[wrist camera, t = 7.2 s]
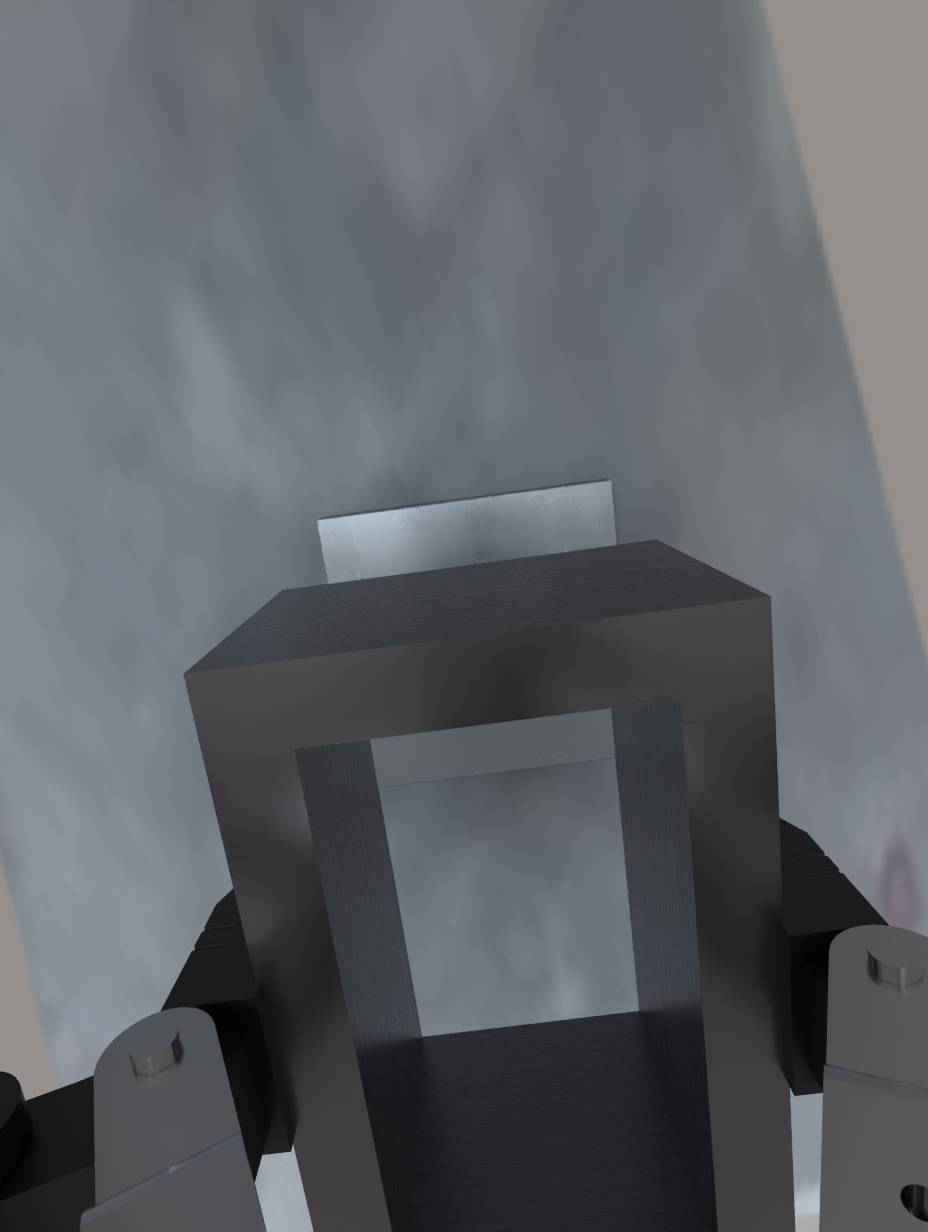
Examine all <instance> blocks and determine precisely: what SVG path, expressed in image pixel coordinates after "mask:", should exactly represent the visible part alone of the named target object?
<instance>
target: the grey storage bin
mask: <svg viewBox="0 0 928 1232" xmlns="http://www.w3.org/2000/svg"><path fill="white" fill-rule="evenodd" d="M184 678H185V682H186V687H187V691H188V695H189V700H190V704H191V708H192V712H193V717H194V721H195V725H196V730H197V734H198V738H199V742H200V747H201V751H202V755H203V760H204V764H205V768H206V772H207V777H208V781H209V785H210V790H211V794H212V798H213V802H214V807H215V811H216V815H217V819H218V824H219V828H220V832H221V837H222V841H223V845H224V849H225V854H226V858H227V862H228V867H229V871H230V875H231V879H232V884H233V888H234V892H235V897H236V901H237V905H238V909H239V914H240V918H241V922H242V927H243V931H244V935H245V939H246V944H247V948H248V952H249V957H250V961H251V965H252V969H253V974H254V978H255V982H256V983H259V982H261V985H262V989H263V994H264V998H265V1002H266V1007H267V1011H268V1015H269V1020H270V1024H271V1028H272V1033H273V1037H274V1041H275V1046H276V1050H277V1054H278V1059H279V1063H280V1067H281V1072H282V1076H283V1080H284V1085H285V1089H286V1093H287V1098H288V1102H289V1106H290V1111H291V1115H292V1119H293V1124H294V1128H295V1132H296V1133H295V1137H294V1141H293V1145H294V1149H295V1153H296V1158H297V1162H298V1166H299V1171H300V1175H301V1179H302V1183H303V1188H304V1192H305V1196H306V1201H307V1205H308V1209H309V1213H310V1218H311V1222H312V1226H313V1231H314V1232H795V1209H794V1184H793V1158H792V1132H791V1107H790V1086H789V1084H788V1082H787V1080H786V1078H785V1076H784V1060H783V1035H782V1010H781V985H780V960H779V935H778V920H779V919H783V901H782V875H781V850H780V824H779V798H778V773H777V747H776V721H775V696H774V670H773V644H772V619H771V596H769V595H767V594H765V593H763V592H761V591H759V590H757V589H755V588H753V587H751V586H749V585H747V584H745V583H743V582H741V581H739V580H737V579H735V578H733V577H731V576H729V575H727V574H725V573H723V572H721V571H719V570H717V569H715V568H713V567H711V566H709V565H707V564H705V563H703V562H701V561H699V560H697V559H695V558H692V557H690V556H688V555H686V554H684V553H682V552H680V551H678V550H676V549H674V548H672V547H670V546H668V545H666V544H664V543H662V542H660V541H658V540H651V541H644V542H636V543H629V544H622V545H614V546H607V547H599V548H592V549H584V550H577V551H570V552H562V553H555V554H547V555H540V556H532V557H525V558H517V559H510V560H503V561H495V562H488V563H480V564H473V565H465V566H458V567H450V568H443V569H436V570H428V571H421V572H413V573H406V574H398V575H391V576H383V577H376V578H369V579H361V580H354V581H346V582H339V583H331V584H324V585H317V586H309V587H302V588H294V589H287V590H282V591H281V592H279V593H278V594H277V595H276V596H275V597H274V598H272V599H271V600H270V601H269V602H268V603H266V604H265V605H264V606H263V607H262V608H261V609H259V610H258V611H257V612H256V613H255V614H254V615H252V616H251V617H250V618H249V619H248V620H246V621H245V622H244V623H243V624H242V625H241V626H239V627H238V628H237V629H236V630H235V631H234V632H232V633H231V634H230V635H229V636H228V637H226V638H225V639H224V640H223V641H222V642H221V643H219V644H218V645H217V646H216V647H215V648H214V649H212V650H211V651H210V652H209V653H208V654H206V655H205V656H204V657H203V658H202V659H201V660H199V661H198V662H197V663H196V664H195V665H193V666H192V667H191V668H190V669H189V670H188V671H186V672H185V673H184ZM609 708H611V715H612V726H613V737H614V747H615V758H616V769H617V779H618V790H619V801H620V811H621V822H622V833H623V843H624V854H625V865H626V875H627V886H628V897H629V907H630V918H631V929H632V939H633V950H634V961H635V971H636V982H637V993H638V1004H639V1011H636V1012H627V1013H619V1014H610V1015H602V1016H594V1017H585V1018H577V1019H569V1020H560V1021H552V1022H544V1023H535V1024H527V1025H518V1026H510V1027H502V1028H493V1029H485V1030H477V1031H468V1032H460V1033H452V1034H443V1035H435V1036H427V1037H422V1034H421V1028H420V1022H419V1017H418V1011H417V1005H416V999H415V994H414V988H413V982H412V977H411V971H410V965H409V960H408V954H407V948H406V943H405V937H404V931H403V926H402V920H401V914H400V909H399V903H398V897H397V891H396V886H395V880H394V874H393V869H392V863H391V857H390V852H389V846H388V840H387V835H386V829H385V823H384V818H383V812H382V806H381V801H380V795H379V789H378V783H377V778H376V772H375V766H374V761H373V755H372V749H371V744H370V739H377V738H385V737H393V736H400V735H408V734H416V733H424V732H431V731H439V730H447V729H455V728H462V727H470V726H478V725H486V724H493V723H501V722H509V721H516V720H524V719H532V718H540V717H547V716H555V715H563V714H571V713H578V712H586V711H594V710H602V709H609Z"/></svg>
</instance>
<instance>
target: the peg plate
mask: <svg viewBox="0 0 928 1232" xmlns="http://www.w3.org/2000/svg"><path fill="white" fill-rule="evenodd" d="M317 523H318V529H319V535H320V540H321V546H322V551H323V557H324V562H325V568H326V573H327V579H328V584H331V583H339V582H346V581H354V580H361V579H369V578H376V577H383V576H391V575H398V574H406V573H413V572H421V571H428V570H436V569H443V568H450V567H458V566H465V565H473V564H480V563H488V562H495V561H503V560H510V559H517V558H525V557H532V556H540V555H547V554H555V553H562V552H570V551H577V550H584V549H592V548H599V547H607V546H614V545H617V542H616V531H615V519H614V508H613V496H612V485H611V480H607V479H602V480H594V481H587V482H580V483H572V484H565V485H558V486H550V487H543V488H535V489H528V490H521V491H513V492H506V493H499V494H491V495H484V496H477V497H469V498H462V499H455V500H447V501H440V502H433V503H425V504H418V505H411V506H403V507H396V508H389V509H381V510H374V511H366V512H359V513H352V514H344V515H337V516H330V517H322V518H321V519H319V520H317ZM370 744H371V749H372V755H373V761H374V766H375V772H376V778H377V783H378V788H379V787H387V786H395V785H403V784H411V783H419V782H427V781H435V780H443V779H450V778H458V777H466V776H474V775H482V774H490V773H498V772H506V771H513V770H521V769H529V768H537V767H545V766H553V765H561V764H569V763H577V762H584V761H592V760H600V759H608V758H615V747H614V737H613V726H612V715H611V708H609V709H602V710H594V711H586V712H578V713H571V714H563V715H555V716H547V717H540V718H532V719H524V720H516V721H509V722H501V723H493V724H486V725H478V726H470V727H462V728H455V729H447V730H439V731H431V732H424V733H416V734H408V735H400V736H393V737H385V738H377V739H370Z"/></svg>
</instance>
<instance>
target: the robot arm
mask: <svg viewBox="0 0 928 1232" xmlns="http://www.w3.org/2000/svg"><path fill="white" fill-rule="evenodd" d="M779 824H780V850H781V875H782V901H783V919H779V920H778V935H779V960H780V985H781V1010H782V1035H783V1060H784V1076H785V1078H786V1080H787V1082H788V1084H789V1086H790V1088H791V1090H792V1092H793V1094H794V1096H798V1095H807V1094H816V1093H823V1115H822V1151H821V1186H820V1222H819V1223H820V1224H819V1232H928V938H927V937H925V936H923V935H921V934H918V933H916V932H913V931H910V930H906V929H903V928H898V927H893V926H889V925H888V924H887V923H886V921H885V920H884V919H883V918H882V917H881V916H880V915H879V914H878V912H877V911H876V910H875V909H874V908H873V907H872V906H871V905H870V903H869V902H868V901H867V900H866V899H865V898H864V897H863V895H862V894H861V893H860V892H859V891H858V890H857V889H856V888H855V886H854V885H853V884H852V883H851V882H850V881H849V880H848V879H847V877H846V876H845V875H844V874H843V873H840V872H839V868H838V867H837V866H836V865H835V864H834V863H833V862H832V861H831V859H830V858H829V857H828V856H825V854H824V852H823V850H822V849H821V848H820V847H819V846H818V845H817V844H816V843H815V841H814V840H813V839H812V838H811V837H810V836H809V835H808V833H806V832H805V831H803V830H801V829H799V828H797V827H795V826H794V825H792V824H790V823H788V822H786V821H784V820H783V819H781V818H779ZM295 1133H296V1132H295V1128H294V1124H293V1119H292V1115H291V1111H290V1106H289V1102H288V1098H287V1093H286V1089H285V1085H284V1080H283V1076H282V1072H281V1067H280V1063H279V1059H278V1054H277V1050H276V1046H275V1041H274V1037H273V1033H272V1028H271V1024H270V1020H269V1015H268V1011H267V1007H266V1002H265V998H264V994H263V989H262V985H261V982H259V983H256V982H255V978H254V974H253V969H252V965H251V961H250V957H249V952H248V948H247V944H246V939H245V935H244V931H243V927H242V922H241V918H240V914H239V909H238V905H237V901H236V897H235V892H234V889H232V890H231V891H230V892H229V893H228V894H227V895H226V896H225V897H224V898H223V899H222V900H221V901H219V902H218V903H217V904H216V906H215V908H214V910H213V912H212V914H211V916H210V917H209V919H208V921H207V923H206V925H205V931H203V932H202V933H201V935H200V937H199V939H198V940H197V942H196V944H195V951H192V952H191V954H190V956H189V958H188V960H187V962H186V963H185V965H184V967H183V969H182V971H181V973H180V975H179V977H178V979H177V981H176V983H175V984H174V986H173V988H172V990H171V992H170V994H169V996H168V998H167V1000H166V1002H165V1004H164V1006H163V1007H162V1009H161V1011H160V1012H158V1013H155V1014H153V1015H150V1016H148V1017H146V1018H144V1019H142V1020H140V1021H138V1022H137V1023H135V1024H133V1025H132V1026H130V1027H129V1028H128V1029H126V1030H125V1031H123V1032H122V1033H121V1034H120V1035H119V1036H118V1037H116V1038H115V1039H114V1040H113V1041H112V1042H111V1043H110V1045H109V1046H108V1047H107V1048H106V1049H105V1051H104V1052H103V1053H102V1055H101V1057H100V1058H99V1060H98V1062H97V1065H96V1068H95V1071H94V1075H93V1076H91V1077H89V1078H86V1079H84V1080H81V1081H79V1082H76V1083H73V1084H71V1085H68V1086H65V1087H62V1088H60V1089H57V1090H54V1091H51V1092H49V1093H46V1094H43V1095H40V1096H38V1097H35V1098H32V1099H29V1100H27V1101H25V1098H24V1095H23V1092H22V1089H21V1086H20V1083H19V1081H18V1080H17V1078H16V1077H14V1076H13V1075H11V1074H9V1073H6V1072H0V1232H267V1231H266V1227H265V1223H264V1219H263V1215H262V1211H261V1207H260V1203H259V1199H258V1195H257V1191H256V1187H255V1180H256V1176H257V1172H258V1169H259V1165H260V1161H261V1158H262V1155H266V1154H275V1153H284V1152H291V1149H292V1145H293V1141H294V1137H295Z"/></svg>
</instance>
